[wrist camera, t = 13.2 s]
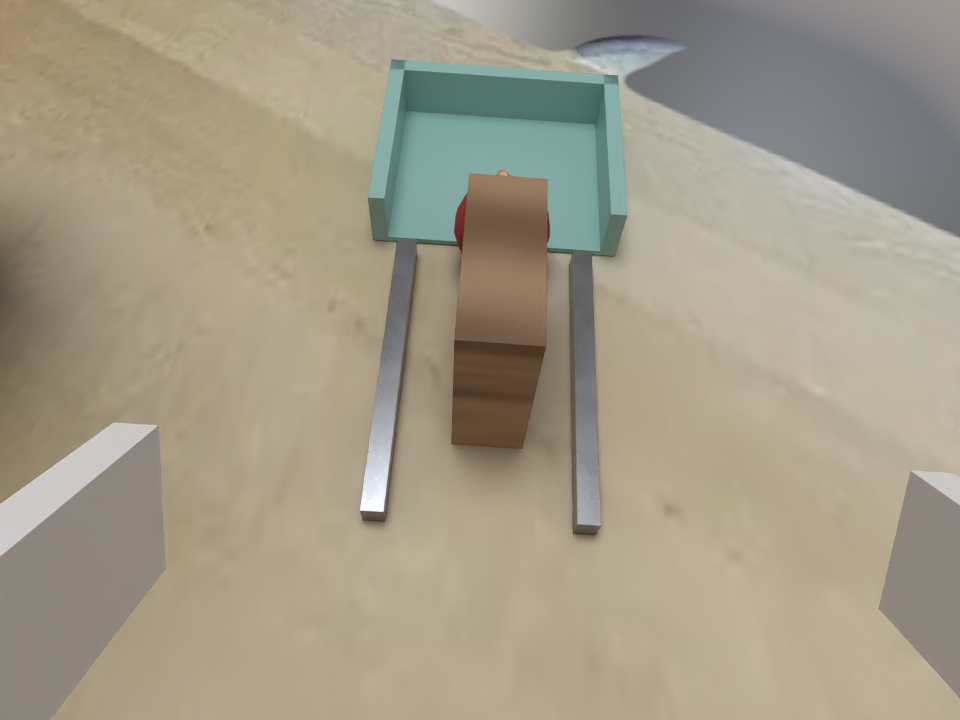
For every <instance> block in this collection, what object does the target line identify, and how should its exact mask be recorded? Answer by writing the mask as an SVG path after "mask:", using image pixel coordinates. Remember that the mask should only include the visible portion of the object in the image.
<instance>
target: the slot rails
mask: <svg viewBox="0 0 960 720" xmlns="http://www.w3.org/2000/svg"><path fill="white" fill-rule="evenodd" d="M416 259H417V242H416V239H401V238H398V239H397V246H396V253H395V261H394V268H393V275H392V282H391V290H390V297H389V304H388V311H387V318H386V326H385V333H384V340H383V347H382V355H381V362H380V369H379V376H378V384H377V391H376V398H375V405H374V413H373V420H372V427H371V434H370V442H369V449H368V456H367V463H366V471H365V478H364V485H363V492H362V500H361V507H360V512H361V516H362V519H363V520H374V521H385V520H386V511H387V503H388V494H389V486H390V478H391V469H392V461H393V452H394V444H395V436H396V427H397V419H398V410H399V402H400V394H401V385H402V377H403V368H404V360H405V352H406V343H407V335H408V326H409V318H410V310H411V301H412V293H413V284H414V276H415V268H416ZM569 274H570V345H571V416H572V486H573V533H579V534H595V535H596V533H597V531H598V530H599V528H600V526H601V516H600V486H599V456H598V427H597V397H596V368H595V338H594V308H593V279H592V252H591V251H577V250H573V252H572V256H571V260H570V264H569Z"/></svg>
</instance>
